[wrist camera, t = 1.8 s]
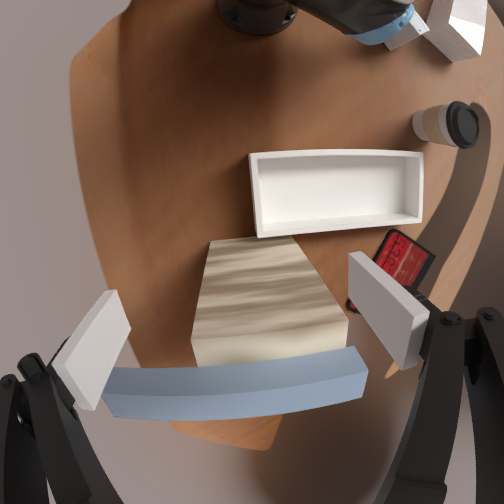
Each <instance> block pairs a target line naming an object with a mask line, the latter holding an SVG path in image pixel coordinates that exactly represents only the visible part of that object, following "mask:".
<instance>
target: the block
mask: <svg viewBox="0 0 504 504" xmlns="http://www.w3.org/2000/svg"><path fill="white" fill-rule="evenodd" d="M367 375H368V369H367V367H366V365H365V364H364V362H363V360H362V358H361V357H360V355H359V353H358V351H357V350H356V348H355V346H351V347H346V348H341V349H336V350H331V351H326V352H320V353H314V354H309V355H302V356H296V357H289V358H283V359H275V360H267V361H259V362H250V363H241V364H230V365H217V366H202V367H181V368H114V367H113V369H112V371H111V373H110V375H109V378H108V380H107V382H106V384H105V387H104V389H103V391H102V394H101V397H102V398H103V400H104V402H105V403H106V405H107V407H108V408H109V409H110V411H111V413H112V414H113V416H114V417H120V418H131V419H145V420H168V421H200V420H224V419H239V418H250V417H259V416H268V415H276V414H283V413H289V412H296V411H301V410H307V409H312V408H317V407H323V406H327V405H331V404H336V403H341V402H344V401H348V400H352V399H357V398H360V397H362V395H363V391H364V387H365V383H366V379H367Z"/></svg>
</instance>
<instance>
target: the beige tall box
mask: <svg viewBox="0 0 504 504" xmlns="http://www.w3.org/2000/svg"><path fill="white" fill-rule="evenodd" d="M348 321H349V320H348V318H347V317H346V315H345V314H344V312H343V311H342V309H341V308H340V306H339V305H338V303H337V301H336V300H335V298H334V297H333V295H332V294H331V292H330V291H329V289H328V288H327V286H326V285H325V284H324V282H323V281H322V279H321V278H320V276H319V275H318V273H317V272H316V270H315V269H314V267H313V266H312V264H311V263H310V262H309V260H308V259H307V257H306V256H305V254H304V253H303V251H302V250H301V249H300V247H299V246H298V244H297V243H296V241H295V240H294V239H293V237H292V236H291V235H283V236H273V237H263V238H258V237H257V236H254V237H245V238H236V239H226V240H217V241H211V242H210V247H209V251H208V256H207V260H206V265H205V270H204V274H203V279H202V284H201V289H200V294H199V299H198V304H197V309H196V314H195V319H194V324H193V330H192V335H191V343H192V347H193V351H194V354H195V358H196V361H197V365H198V367H202V366H217V365H230V364H241V363H250V362H259V361H267V360H275V359H283V358H289V357H296V356H302V355H309V354H314V353H320V352H326V351H331V350H336V349H341V348H345V346H346V338H347V330H348Z"/></svg>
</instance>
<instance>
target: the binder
mask: <svg viewBox="0 0 504 504" xmlns="http://www.w3.org/2000/svg"><path fill="white" fill-rule="evenodd" d="M435 257H436V255H434V254H432V253H431V252H430V251H428V250H427V249H425V248H424V247H423V246H421V245H420V244H418V243H417V242H415V241H414V240H412V239H411V238H410V237H408V236H406V235H405V234H404V233H402V232H401V231H399V230H397V229H391V230H390V231H389V232H388V233H387V235H386V238H385V240H384V242H383V244H382V246H381V248H380V250H379V252H378V254H377V255H376V257H375V259H374V261H373V262H374V263H376V264H377V265H378V266H379V267H380V268H381V269H383V270H384V271H385V272H386V273H387V274H388V275H390V276H391V277H392V278H393V279H394V280H395V281H397V282H398V283H399V284H400V285H401V286H404V285H408V286H410V287H413V288H415V289H416V290H417V288H418V286H419V285H420V283H421V282H422V280H423V278H424V277H425V275H426V273H427V271H428V270H429V268H430V266H431V264H432V263H433V261H434V259H435ZM347 307H348V308H349V309H350V310H352V311H353V312H356V313H358V314H361V313H360V312H359V311H358V309H357V308H356V306H355V305H354V304H353V303H352V301H351V300H350V299H348V301H347Z"/></svg>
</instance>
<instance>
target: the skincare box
mask: <svg viewBox="0 0 504 504" xmlns="http://www.w3.org/2000/svg"><path fill="white" fill-rule="evenodd" d="M428 31H430V29H429V28H428V26H427V25H426V24H425V22H424V21H423V20H422V19H421V17H420V16H419V15H418V13H417V12H416V11H415V10H414V14H413V16H412V18H411V20H410V21H409V22H408V23H407V25H405V26H403V27H402V28H401V30H400V31H399V32H398V33H397V34H396V35H394V36H393V37H391V38H390V39H388V40H386V41H385V42H384V44H385V45H386V46H387V48H388V49H389V50H390V51H392V50H394V49H396V48H398V47H400V46H401V45H403V44H405V43H407V42H409V41H411V40H413V39H415V38H416V37H418V36H420V35H422V34H424V33H426V32H428Z"/></svg>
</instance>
